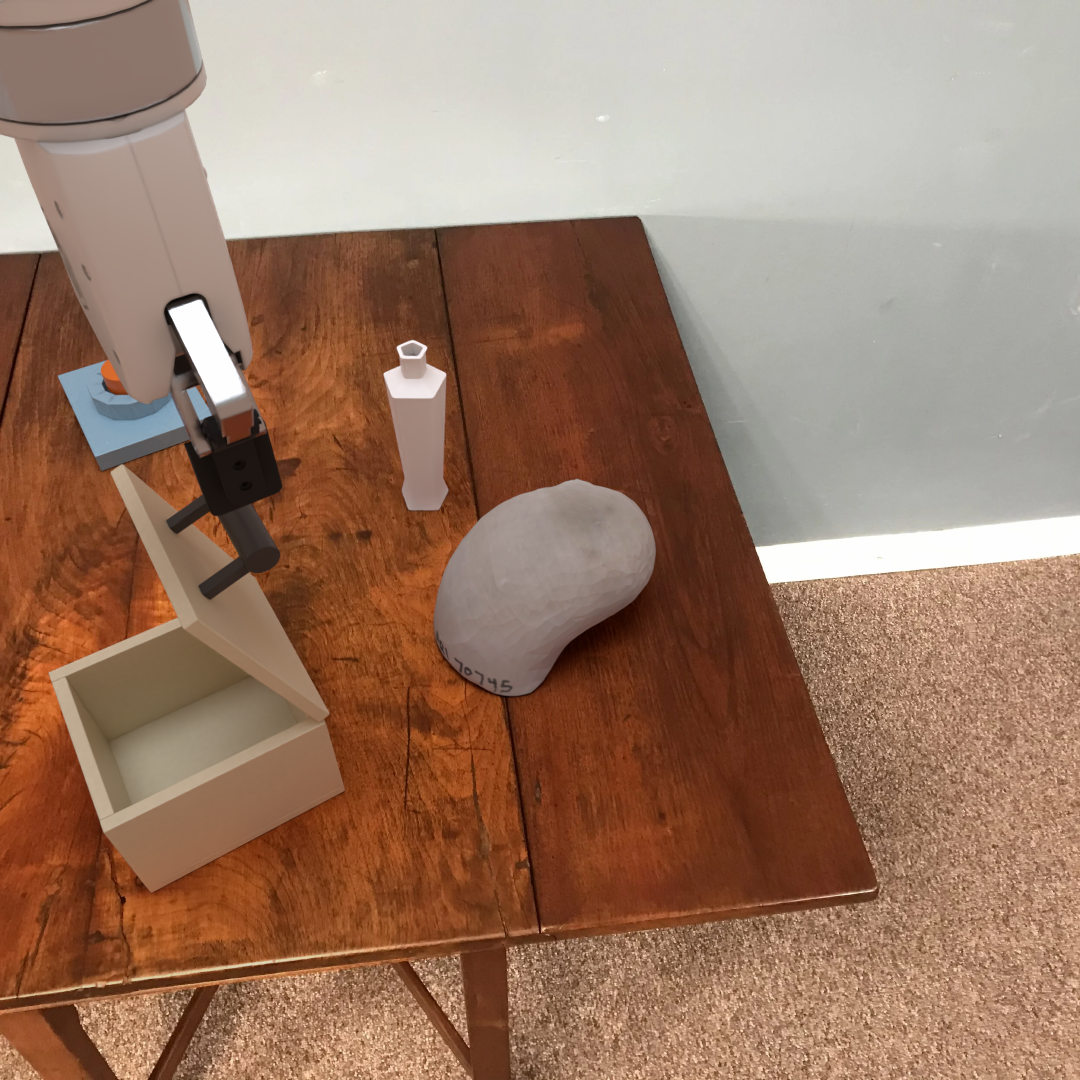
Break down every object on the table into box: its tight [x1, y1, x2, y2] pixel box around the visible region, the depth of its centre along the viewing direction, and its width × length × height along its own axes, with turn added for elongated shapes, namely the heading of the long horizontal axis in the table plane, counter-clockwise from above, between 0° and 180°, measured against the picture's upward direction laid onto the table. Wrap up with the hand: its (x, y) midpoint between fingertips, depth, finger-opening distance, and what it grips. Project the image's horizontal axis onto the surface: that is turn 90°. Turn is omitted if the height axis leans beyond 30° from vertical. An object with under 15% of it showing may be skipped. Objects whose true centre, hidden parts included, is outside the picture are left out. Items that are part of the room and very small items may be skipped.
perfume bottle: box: [383, 339, 449, 511], centre depth 72 cm, size 5×4×15 cm
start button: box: [101, 358, 128, 395], centre depth 80 cm, size 4×4×2 cm
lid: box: [109, 463, 330, 722], centre depth 51 cm, size 13×12×5 cm
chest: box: [48, 617, 346, 894], centre depth 58 cm, size 13×12×9 cm
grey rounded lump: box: [433, 478, 657, 697], centre depth 68 cm, size 15×14×15 cm
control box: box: [57, 359, 212, 472], centre depth 82 cm, size 10×12×4 cm
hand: (207, 433), depth 43 cm, fingers open, 9 cm apart
